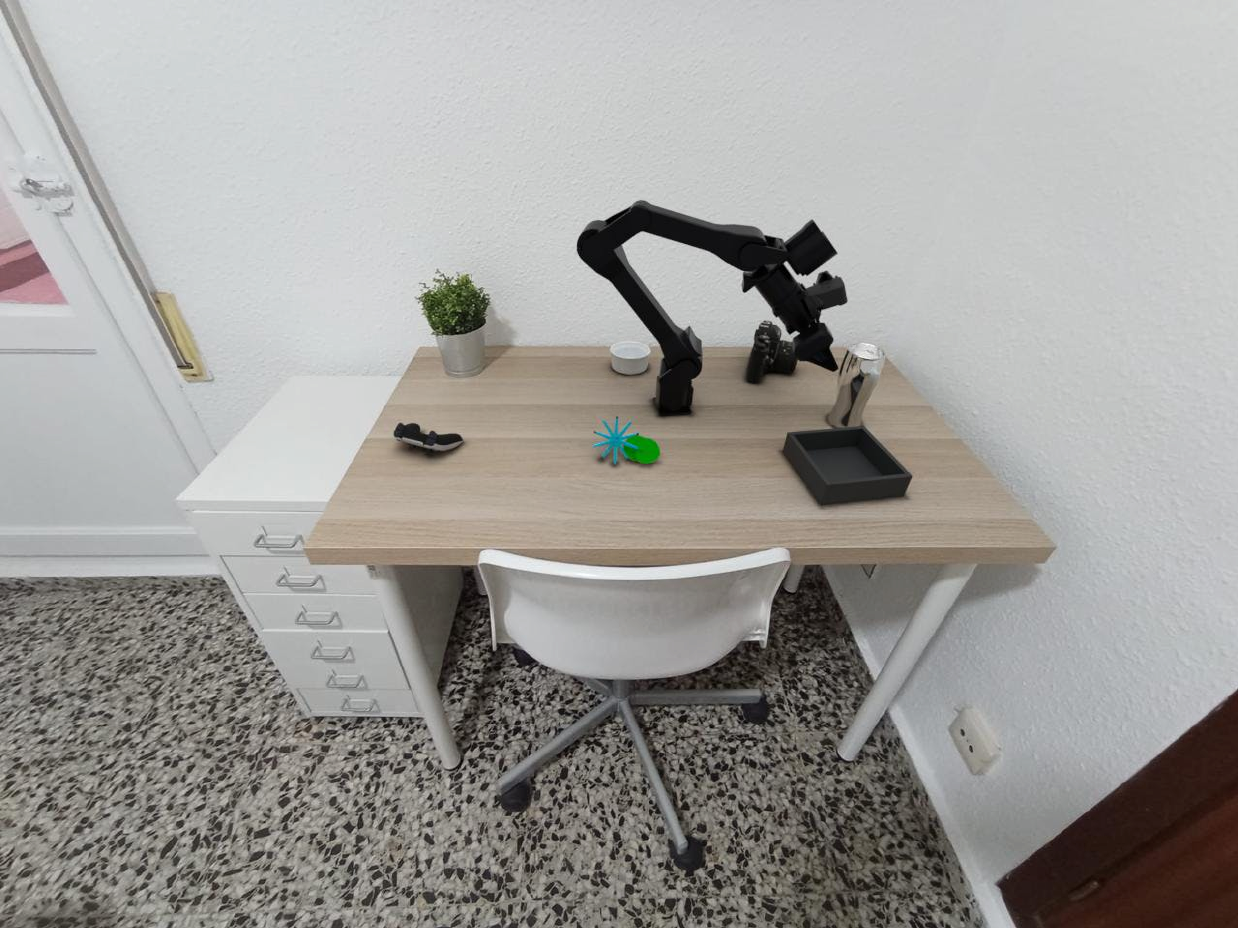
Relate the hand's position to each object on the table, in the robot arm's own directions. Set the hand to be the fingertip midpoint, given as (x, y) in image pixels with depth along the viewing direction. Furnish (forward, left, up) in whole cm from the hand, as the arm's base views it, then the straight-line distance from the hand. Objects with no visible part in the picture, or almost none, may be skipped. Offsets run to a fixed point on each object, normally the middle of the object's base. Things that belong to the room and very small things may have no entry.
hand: (831, 358), depth 99 cm
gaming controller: (-73, +1, -13) cm, 74 cm away
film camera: (-1, +21, -13) cm, 25 cm away
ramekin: (-32, +26, -13) cm, 43 cm away
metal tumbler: (+5, -2, -13) cm, 14 cm away
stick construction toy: (-39, -6, -13) cm, 41 cm away
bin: (-4, -17, -13) cm, 21 cm away
